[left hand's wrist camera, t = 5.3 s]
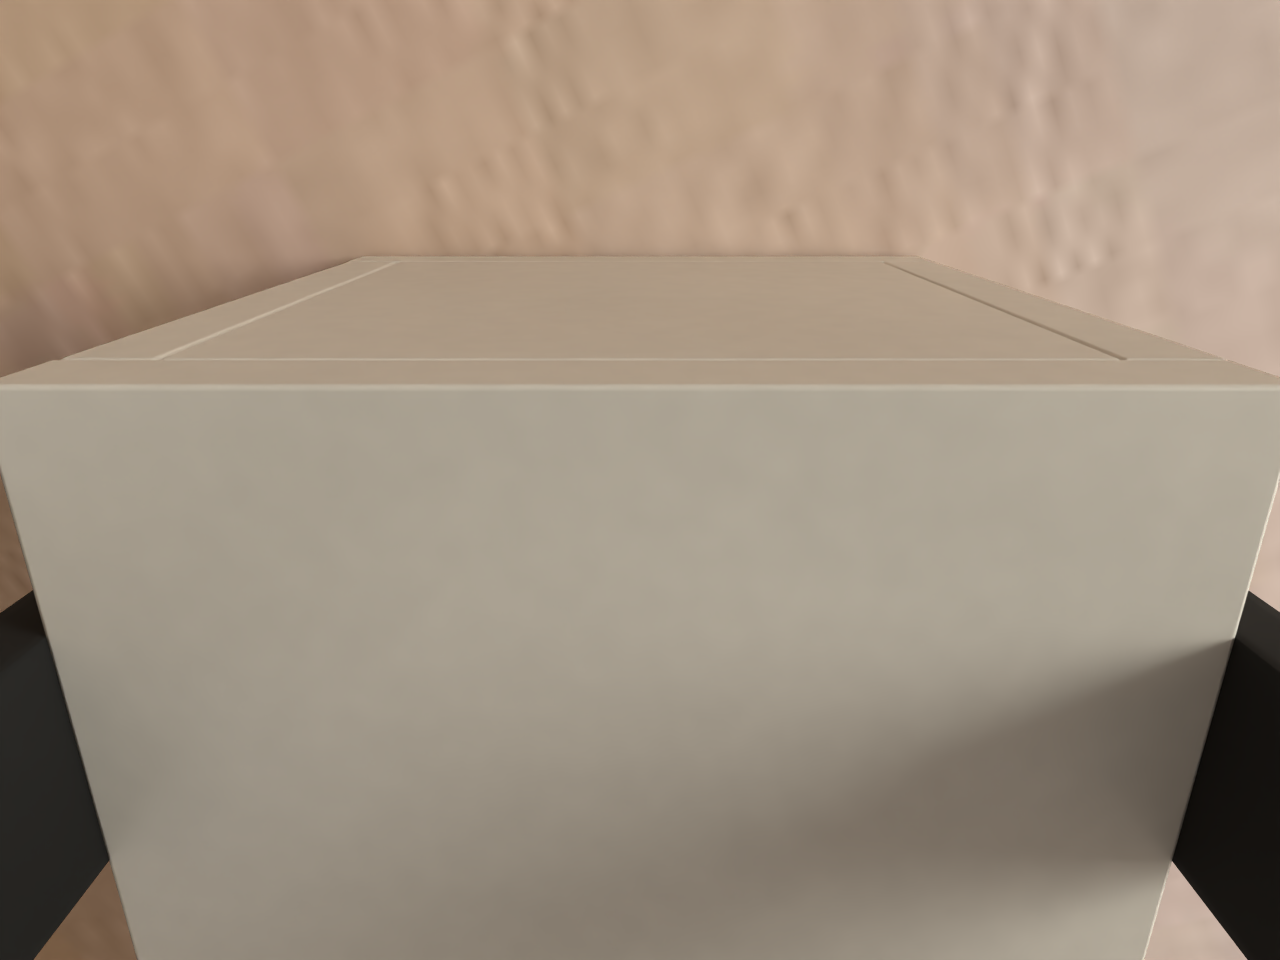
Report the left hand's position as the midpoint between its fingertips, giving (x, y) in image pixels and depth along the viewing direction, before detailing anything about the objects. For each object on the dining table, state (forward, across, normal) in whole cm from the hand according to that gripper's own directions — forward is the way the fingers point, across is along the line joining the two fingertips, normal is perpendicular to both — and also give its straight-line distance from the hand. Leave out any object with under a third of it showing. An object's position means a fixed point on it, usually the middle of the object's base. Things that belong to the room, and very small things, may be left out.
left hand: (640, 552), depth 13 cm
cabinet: (+6, 0, -6) cm, 8 cm away
